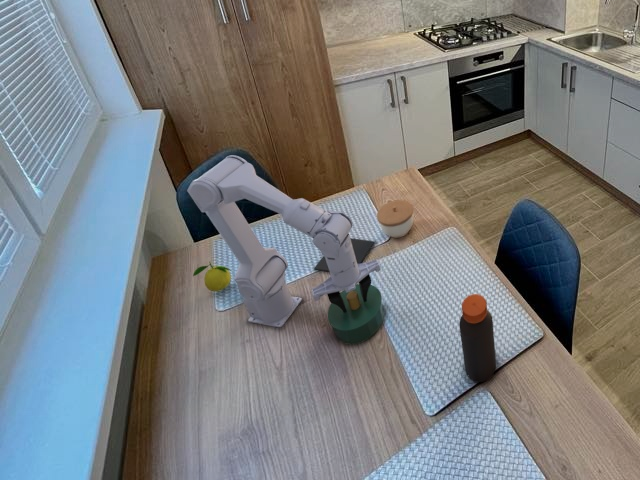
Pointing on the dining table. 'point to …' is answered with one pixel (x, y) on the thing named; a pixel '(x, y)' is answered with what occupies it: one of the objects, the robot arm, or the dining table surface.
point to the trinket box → (396, 218)
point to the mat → (360, 253)
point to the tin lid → (355, 309)
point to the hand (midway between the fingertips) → (354, 303)
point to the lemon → (215, 277)
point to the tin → (361, 330)
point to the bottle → (477, 339)
